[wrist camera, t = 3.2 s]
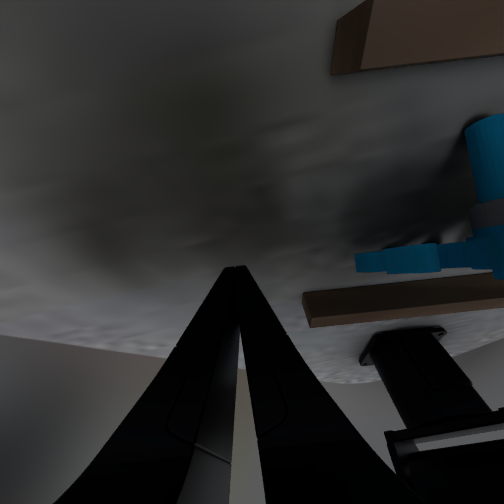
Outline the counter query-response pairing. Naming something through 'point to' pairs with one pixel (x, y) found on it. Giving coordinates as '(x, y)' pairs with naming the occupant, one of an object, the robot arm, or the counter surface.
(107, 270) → the counter surface
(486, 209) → the blue irregular piece
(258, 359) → the robot arm
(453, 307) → the guide channel
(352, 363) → the counter surface
